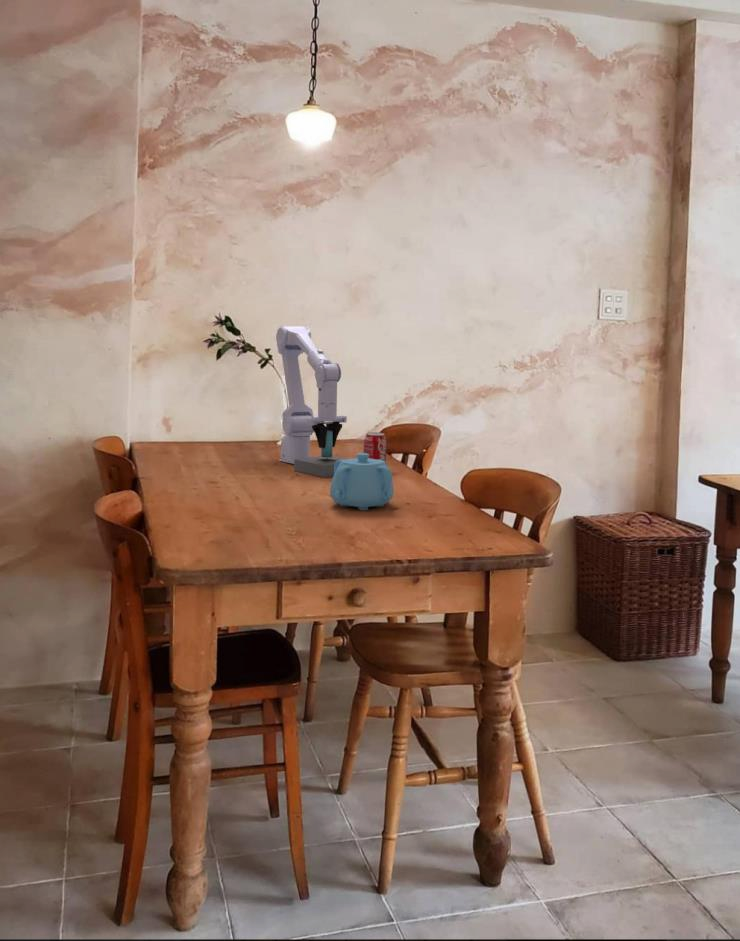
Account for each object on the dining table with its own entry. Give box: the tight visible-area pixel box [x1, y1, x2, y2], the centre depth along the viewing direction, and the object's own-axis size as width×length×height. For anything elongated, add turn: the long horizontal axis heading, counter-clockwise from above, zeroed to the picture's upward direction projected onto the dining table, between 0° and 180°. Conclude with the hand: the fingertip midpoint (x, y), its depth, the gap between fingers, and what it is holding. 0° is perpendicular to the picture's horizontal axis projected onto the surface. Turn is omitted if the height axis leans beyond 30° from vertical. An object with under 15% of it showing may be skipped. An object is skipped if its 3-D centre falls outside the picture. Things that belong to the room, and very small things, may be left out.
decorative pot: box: [329, 452, 394, 511], centre depth 238 cm, size 16×16×14 cm
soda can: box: [362, 431, 387, 463], centre depth 287 cm, size 7×7×12 cm
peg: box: [320, 430, 334, 458], centre depth 285 cm, size 3×3×8 cm
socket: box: [293, 455, 348, 478], centre depth 286 cm, size 14×14×4 cm
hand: (326, 447), depth 285 cm, fingers closed on peg, 3 cm apart
